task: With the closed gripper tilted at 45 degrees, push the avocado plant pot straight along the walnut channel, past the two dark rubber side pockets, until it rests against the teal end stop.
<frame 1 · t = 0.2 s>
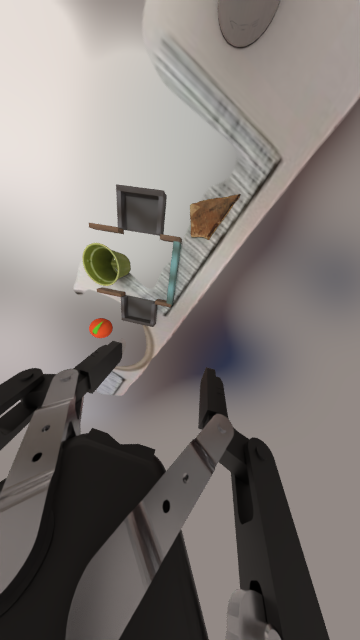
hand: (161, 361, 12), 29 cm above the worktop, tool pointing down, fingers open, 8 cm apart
two-trap channel: (137, 268, 38), on the worktop
clementine: (108, 322, 48), on the worktop
plant pot: (121, 265, 39), on the worktop
shard: (207, 213, 31), on the worktop
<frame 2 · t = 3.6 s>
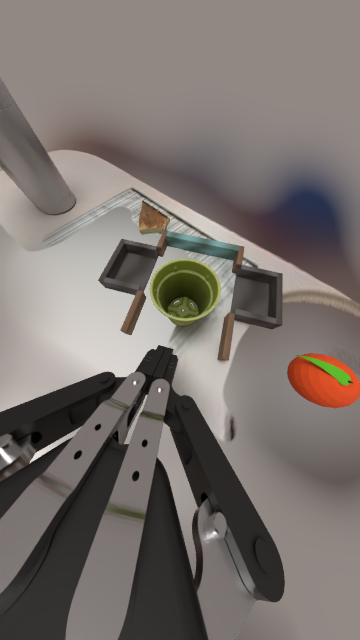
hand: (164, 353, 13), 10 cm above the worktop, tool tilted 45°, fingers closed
two-trap channel: (189, 290, 27), on the worktop
clementine: (293, 373, 22), on the worktop
plant pot: (183, 312, 25), on the worktop
shard: (148, 224, 34), on the worktop
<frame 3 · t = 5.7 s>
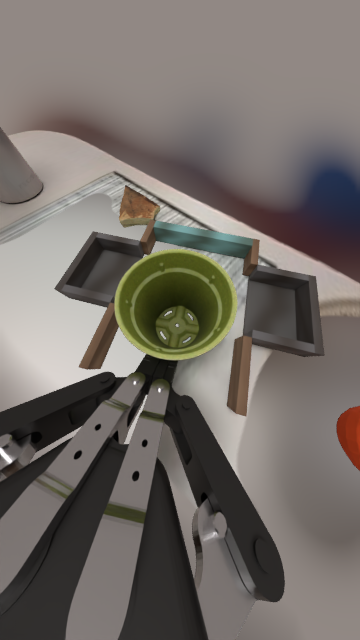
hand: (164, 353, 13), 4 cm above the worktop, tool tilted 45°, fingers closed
two-trap channel: (184, 300, 19), on the worktop
clementine: (342, 428, 14), on the worktop
plant pot: (177, 327, 18), on the worktop, touching gripper
shard: (133, 215, 27), on the worktop
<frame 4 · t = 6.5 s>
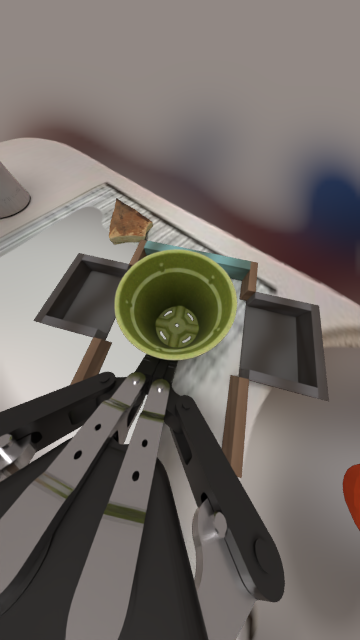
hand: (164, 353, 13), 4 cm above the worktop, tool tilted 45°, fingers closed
two-trap channel: (177, 329, 18), on the worktop
clementine: (349, 482, 13), on the worktop
plant pot: (177, 327, 18), on the worktop, touching gripper
shard: (125, 230, 25), on the worktop
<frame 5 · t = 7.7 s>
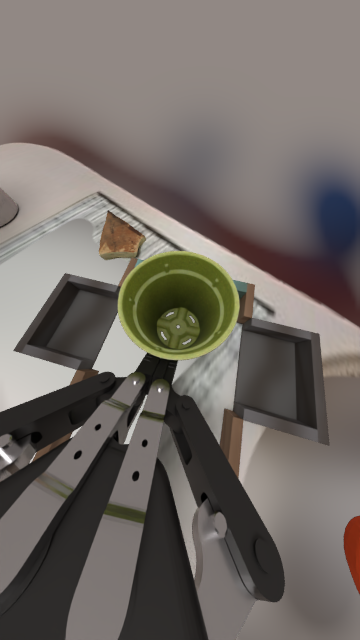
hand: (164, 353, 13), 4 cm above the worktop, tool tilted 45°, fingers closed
two-trap channel: (168, 356, 17), on the worktop
clementine: (350, 532, 12), on the worktop
plant pot: (178, 328, 18), on the worktop, touching gripper
shard: (116, 244, 24), on the worktop
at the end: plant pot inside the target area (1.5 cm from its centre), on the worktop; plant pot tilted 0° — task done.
